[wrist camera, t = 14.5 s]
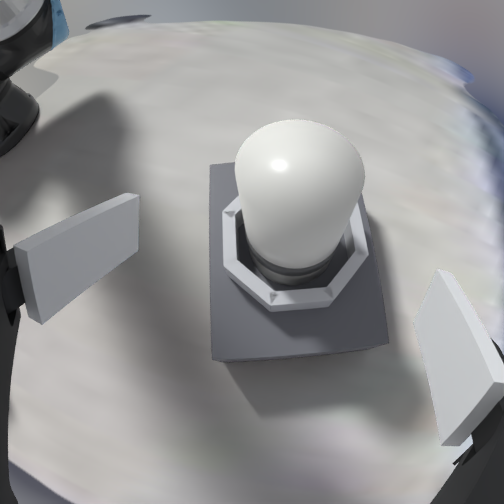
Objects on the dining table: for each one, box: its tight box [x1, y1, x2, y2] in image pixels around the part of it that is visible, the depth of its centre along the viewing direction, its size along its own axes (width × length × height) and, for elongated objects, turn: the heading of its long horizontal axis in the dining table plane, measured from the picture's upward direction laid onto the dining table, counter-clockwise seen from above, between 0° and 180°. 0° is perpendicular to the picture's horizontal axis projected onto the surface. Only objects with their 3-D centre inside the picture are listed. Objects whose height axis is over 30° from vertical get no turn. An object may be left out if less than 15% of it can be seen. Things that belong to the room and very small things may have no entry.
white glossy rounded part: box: [235, 119, 365, 286], centre depth 22 cm, size 7×7×11 cm
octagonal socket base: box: [209, 162, 389, 362], centre depth 28 cm, size 18×14×8 cm
